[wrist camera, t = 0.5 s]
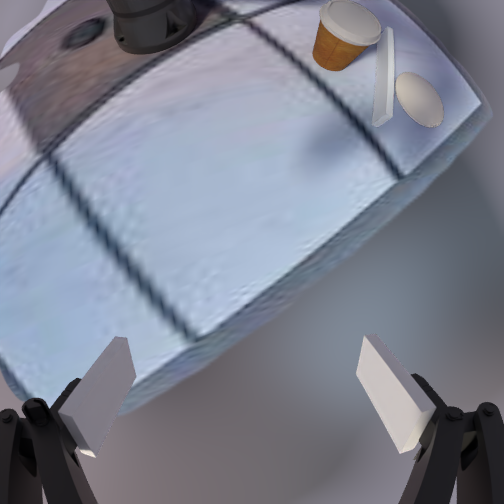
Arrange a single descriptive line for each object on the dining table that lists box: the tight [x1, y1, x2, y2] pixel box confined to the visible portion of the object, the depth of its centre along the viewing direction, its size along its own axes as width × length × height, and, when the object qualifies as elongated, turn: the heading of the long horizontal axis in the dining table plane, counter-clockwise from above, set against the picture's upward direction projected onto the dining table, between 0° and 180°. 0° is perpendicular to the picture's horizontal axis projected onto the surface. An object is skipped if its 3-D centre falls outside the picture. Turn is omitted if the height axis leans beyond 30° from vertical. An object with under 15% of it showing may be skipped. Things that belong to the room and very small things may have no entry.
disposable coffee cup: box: [313, 0, 381, 71], centre depth 31 cm, size 10×10×12 cm
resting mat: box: [395, 72, 444, 128], centre depth 39 cm, size 12×12×1 cm
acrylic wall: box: [372, 26, 394, 128], centre depth 36 cm, size 22×1×5 cm, turn 166°
